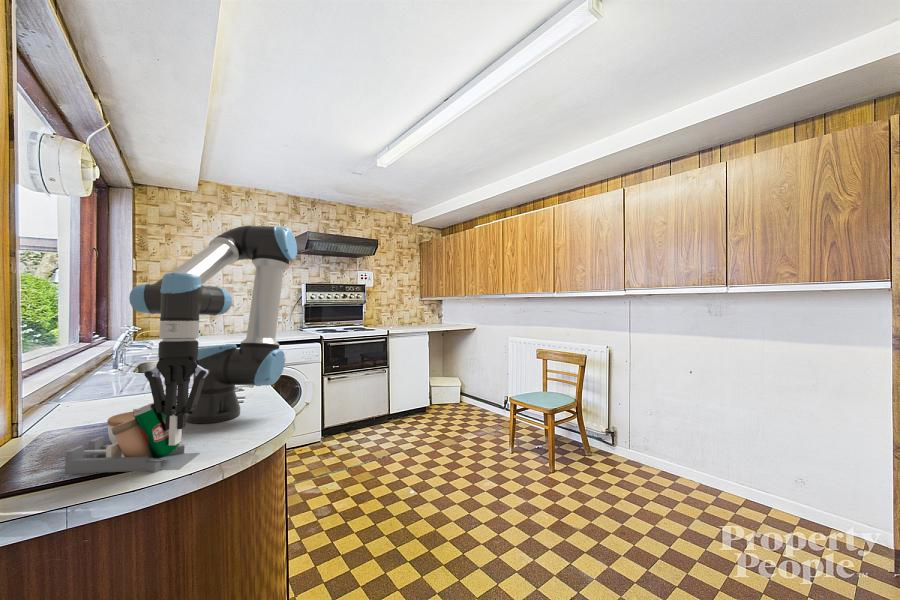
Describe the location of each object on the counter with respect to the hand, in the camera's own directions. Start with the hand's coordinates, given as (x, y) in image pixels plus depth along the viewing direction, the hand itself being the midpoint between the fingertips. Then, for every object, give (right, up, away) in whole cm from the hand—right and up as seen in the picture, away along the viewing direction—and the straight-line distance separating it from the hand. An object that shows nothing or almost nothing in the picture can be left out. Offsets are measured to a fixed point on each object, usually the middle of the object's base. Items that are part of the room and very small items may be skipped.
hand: (175, 443), depth 87 cm
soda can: (-2, -3, +1) cm, 4 cm away
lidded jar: (-18, -5, +11) cm, 22 cm away
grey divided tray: (-8, -5, 0) cm, 10 cm away
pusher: (-17, -4, -1) cm, 18 cm away
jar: (-8, -3, 0) cm, 8 cm away
